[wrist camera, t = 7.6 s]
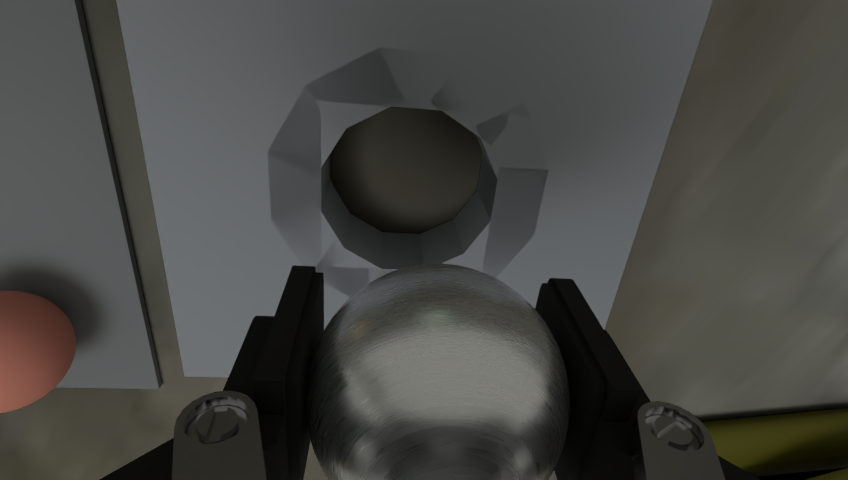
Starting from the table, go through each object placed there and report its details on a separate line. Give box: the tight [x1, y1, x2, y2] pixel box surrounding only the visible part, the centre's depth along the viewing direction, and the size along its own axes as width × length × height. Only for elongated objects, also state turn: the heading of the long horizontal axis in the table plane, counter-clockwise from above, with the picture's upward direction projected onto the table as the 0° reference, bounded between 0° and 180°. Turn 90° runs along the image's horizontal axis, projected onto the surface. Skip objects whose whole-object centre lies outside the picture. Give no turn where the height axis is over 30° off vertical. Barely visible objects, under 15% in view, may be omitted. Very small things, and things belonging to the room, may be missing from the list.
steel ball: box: [306, 263, 570, 480], centre depth 10 cm, size 6×6×6 cm
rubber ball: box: [0, 291, 76, 413], centre depth 22 cm, size 6×6×6 cm
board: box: [116, 0, 713, 377], centre depth 21 cm, size 20×20×4 cm
